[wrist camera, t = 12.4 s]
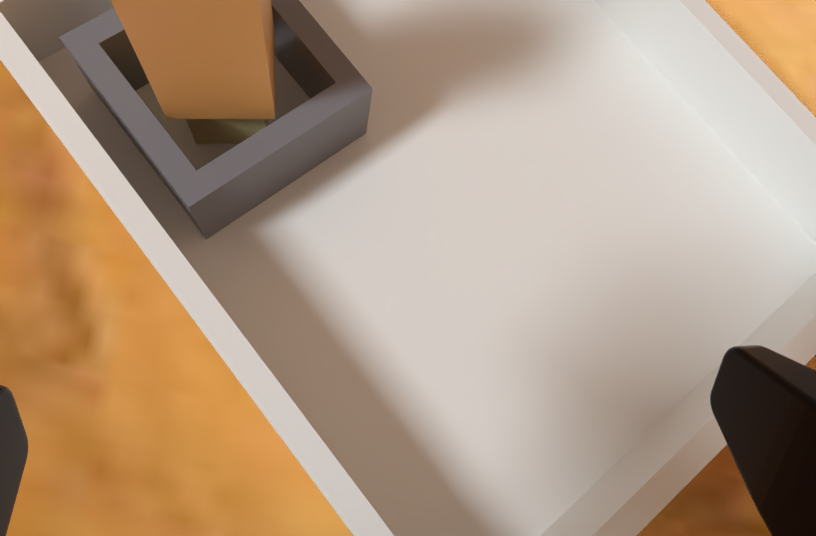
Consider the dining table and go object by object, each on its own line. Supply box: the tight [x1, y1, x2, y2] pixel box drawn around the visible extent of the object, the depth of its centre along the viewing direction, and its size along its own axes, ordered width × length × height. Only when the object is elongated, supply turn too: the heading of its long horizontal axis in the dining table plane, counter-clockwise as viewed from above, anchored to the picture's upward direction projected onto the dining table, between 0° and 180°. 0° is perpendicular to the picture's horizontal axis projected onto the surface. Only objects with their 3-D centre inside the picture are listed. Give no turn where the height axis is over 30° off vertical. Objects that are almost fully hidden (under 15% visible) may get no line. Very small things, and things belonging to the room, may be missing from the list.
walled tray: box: [0, 0, 816, 536], centre depth 22 cm, size 24×20×4 cm
